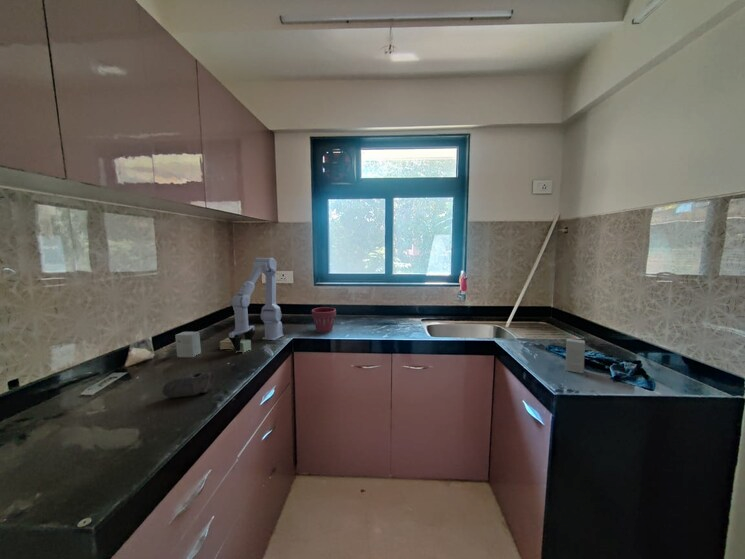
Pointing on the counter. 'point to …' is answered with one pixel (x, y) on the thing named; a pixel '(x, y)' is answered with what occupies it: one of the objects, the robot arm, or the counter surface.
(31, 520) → the counter surface
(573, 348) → the skincare box
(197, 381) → the perforated stone tool
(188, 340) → the small box
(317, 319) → the plant pot
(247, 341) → the sage cube
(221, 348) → the slab bottom
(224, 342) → the slab top
